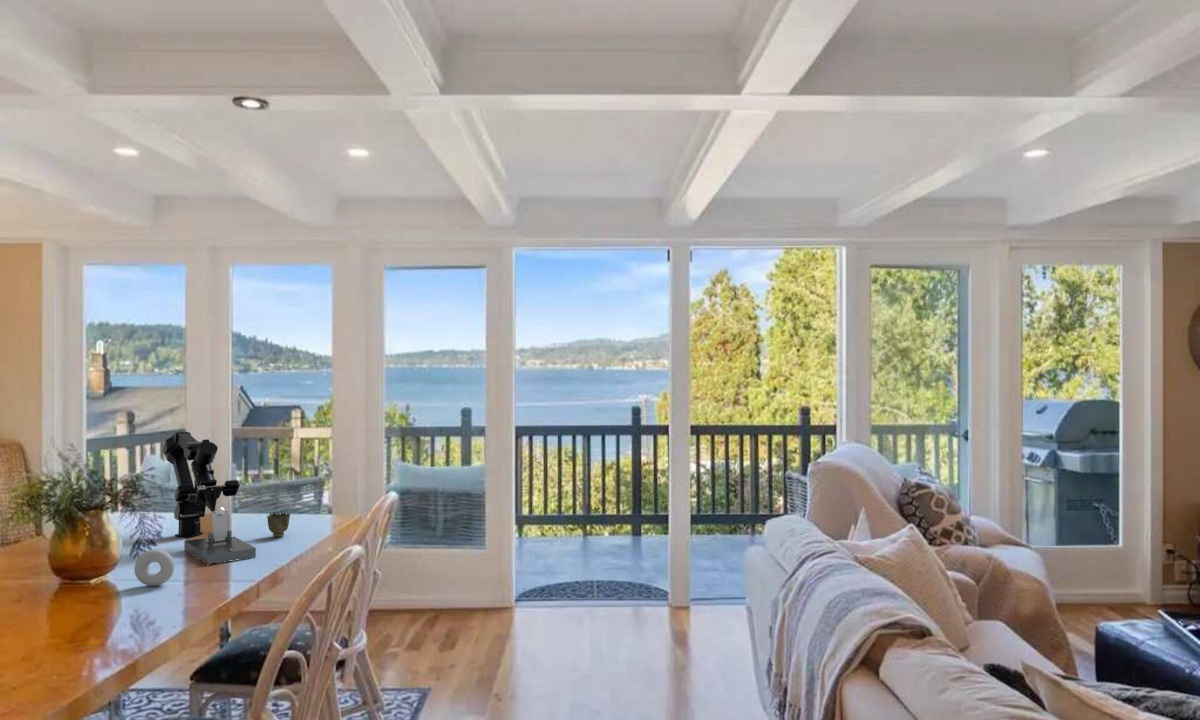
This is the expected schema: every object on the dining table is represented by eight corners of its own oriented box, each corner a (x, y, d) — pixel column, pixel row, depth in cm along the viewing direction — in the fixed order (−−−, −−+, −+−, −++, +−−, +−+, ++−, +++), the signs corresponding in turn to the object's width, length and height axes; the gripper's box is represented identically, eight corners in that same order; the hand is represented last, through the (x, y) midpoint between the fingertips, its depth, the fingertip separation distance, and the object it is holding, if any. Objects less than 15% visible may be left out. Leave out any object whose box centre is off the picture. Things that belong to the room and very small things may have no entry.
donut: (176, 583, 208) (176, 547, 208) (171, 587, 205) (172, 550, 205) (137, 584, 206) (137, 548, 206) (131, 588, 203) (132, 551, 203)
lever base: (184, 550, 244) (184, 528, 244) (230, 543, 253) (230, 522, 253) (207, 565, 226) (207, 542, 226) (255, 557, 236) (255, 535, 236)
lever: (211, 542, 239) (211, 507, 239) (224, 540, 242) (225, 505, 242) (214, 544, 237) (214, 508, 237) (227, 542, 240) (228, 506, 240)
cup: (284, 539, 259) (284, 516, 259) (263, 539, 260) (263, 516, 260) (293, 534, 267) (293, 512, 267) (272, 534, 267) (273, 511, 267)
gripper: (226, 485, 264) (237, 521, 256) (167, 491, 251) (176, 529, 243) (234, 465, 258) (245, 501, 250) (174, 470, 245) (183, 508, 237)
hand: (213, 510), depth 245 cm, fingers closed
